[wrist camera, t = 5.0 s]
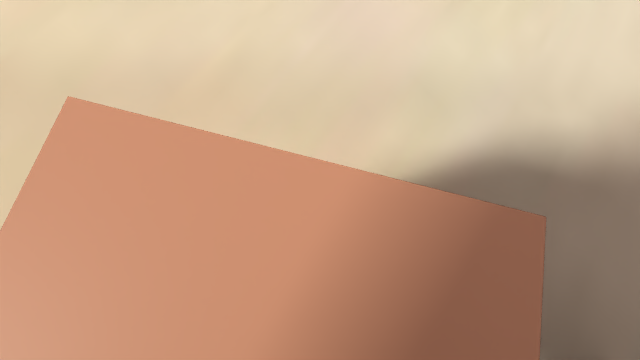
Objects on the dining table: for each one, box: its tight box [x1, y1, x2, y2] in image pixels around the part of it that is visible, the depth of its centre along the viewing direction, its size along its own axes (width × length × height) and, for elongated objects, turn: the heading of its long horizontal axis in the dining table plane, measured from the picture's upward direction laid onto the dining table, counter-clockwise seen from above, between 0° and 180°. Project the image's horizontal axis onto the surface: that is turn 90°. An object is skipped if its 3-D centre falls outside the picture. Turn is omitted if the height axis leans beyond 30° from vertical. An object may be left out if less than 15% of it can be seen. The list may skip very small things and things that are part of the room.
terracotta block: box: [0, 96, 546, 360], centre depth 9 cm, size 5×5×12 cm
